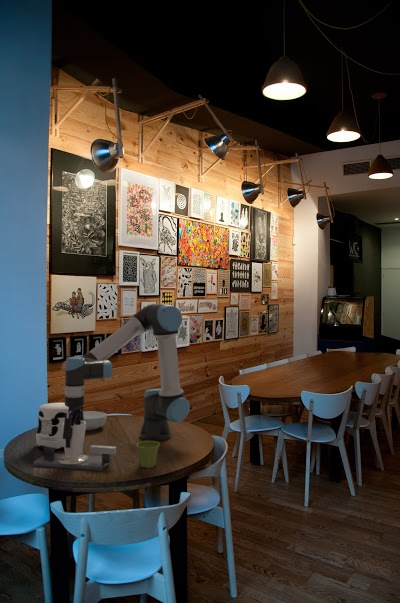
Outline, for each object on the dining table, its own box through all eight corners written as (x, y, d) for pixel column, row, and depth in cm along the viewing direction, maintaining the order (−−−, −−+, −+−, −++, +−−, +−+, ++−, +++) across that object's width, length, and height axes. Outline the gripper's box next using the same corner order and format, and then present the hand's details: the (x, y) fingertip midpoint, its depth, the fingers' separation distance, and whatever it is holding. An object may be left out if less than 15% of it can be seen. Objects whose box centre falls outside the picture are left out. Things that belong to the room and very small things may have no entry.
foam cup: (87, 457, 196) (88, 424, 195) (64, 460, 191) (64, 427, 191) (82, 450, 204) (82, 419, 204) (59, 453, 200) (59, 421, 200)
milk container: (73, 439, 231) (74, 401, 231) (78, 450, 214) (78, 409, 214) (35, 442, 225) (35, 403, 225) (36, 453, 208) (37, 411, 208)
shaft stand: (120, 460, 202) (120, 442, 202) (110, 471, 189) (111, 452, 189) (41, 455, 207) (41, 437, 207) (26, 465, 194) (26, 446, 194)
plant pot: (139, 471, 191) (140, 448, 190) (133, 463, 199) (133, 442, 199) (162, 468, 194) (163, 446, 194) (155, 460, 203) (155, 439, 203)
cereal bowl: (94, 434, 240) (94, 419, 240) (66, 430, 246) (66, 416, 246) (112, 426, 256) (113, 412, 256) (85, 422, 262) (85, 409, 262)
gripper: (72, 401, 186) (71, 460, 186) (93, 391, 208) (92, 443, 208) (54, 400, 187) (53, 459, 187) (76, 390, 209) (75, 442, 209)
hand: (73, 451), depth 198 cm, fingers closed on foam cup, 9 cm apart
